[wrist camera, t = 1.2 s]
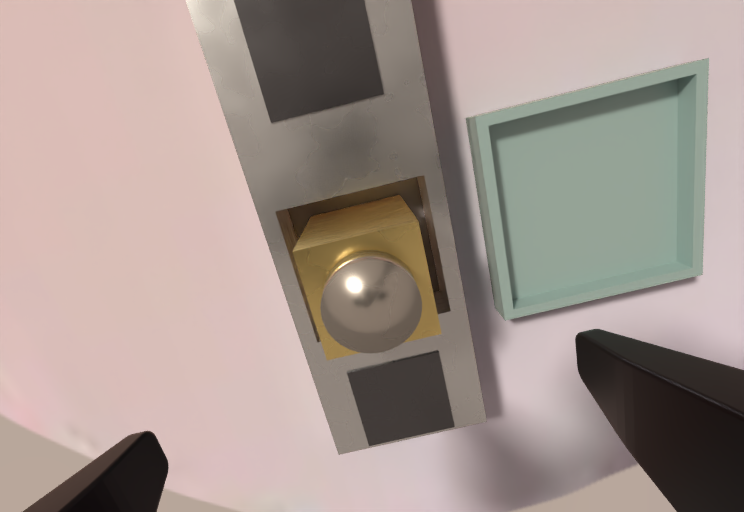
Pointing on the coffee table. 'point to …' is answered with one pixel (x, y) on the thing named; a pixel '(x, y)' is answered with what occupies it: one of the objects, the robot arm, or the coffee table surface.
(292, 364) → the coffee table surface
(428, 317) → the brass block with knob
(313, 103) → the grey slotted plate
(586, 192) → the parts tray
